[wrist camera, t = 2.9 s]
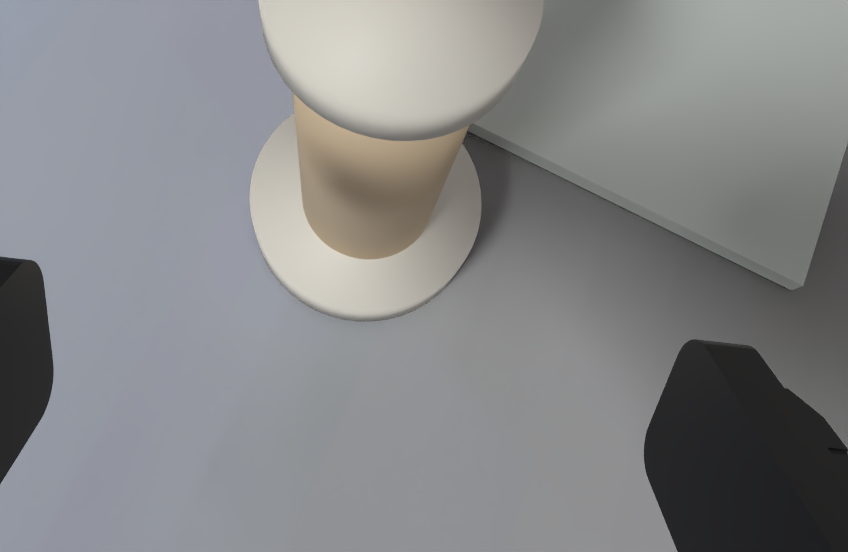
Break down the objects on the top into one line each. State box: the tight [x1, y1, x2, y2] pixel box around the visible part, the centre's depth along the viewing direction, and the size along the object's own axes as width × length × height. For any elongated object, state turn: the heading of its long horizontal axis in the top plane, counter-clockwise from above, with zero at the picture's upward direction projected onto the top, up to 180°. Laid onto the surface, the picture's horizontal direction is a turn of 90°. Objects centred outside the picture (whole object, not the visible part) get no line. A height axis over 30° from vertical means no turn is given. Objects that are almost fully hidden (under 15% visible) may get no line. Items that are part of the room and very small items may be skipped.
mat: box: [467, 0, 848, 290], centre depth 24 cm, size 12×12×1 cm
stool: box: [250, 0, 544, 321], centre depth 16 cm, size 6×6×11 cm
